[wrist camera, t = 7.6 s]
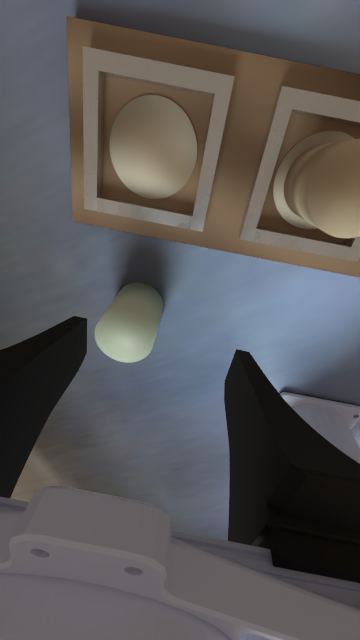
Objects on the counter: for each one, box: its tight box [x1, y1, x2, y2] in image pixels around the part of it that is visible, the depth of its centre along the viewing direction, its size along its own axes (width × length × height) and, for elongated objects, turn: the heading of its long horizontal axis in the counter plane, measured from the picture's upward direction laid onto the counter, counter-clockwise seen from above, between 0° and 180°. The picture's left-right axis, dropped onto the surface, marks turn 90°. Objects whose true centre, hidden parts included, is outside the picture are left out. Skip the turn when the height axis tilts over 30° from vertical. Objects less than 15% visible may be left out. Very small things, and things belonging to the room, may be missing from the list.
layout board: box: [67, 16, 360, 277], centre depth 16 cm, size 10×20×2 cm, turn 80°
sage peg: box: [95, 283, 164, 362], centre depth 21 cm, size 4×4×5 cm
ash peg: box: [284, 139, 360, 238], centre depth 14 cm, size 4×4×5 cm
